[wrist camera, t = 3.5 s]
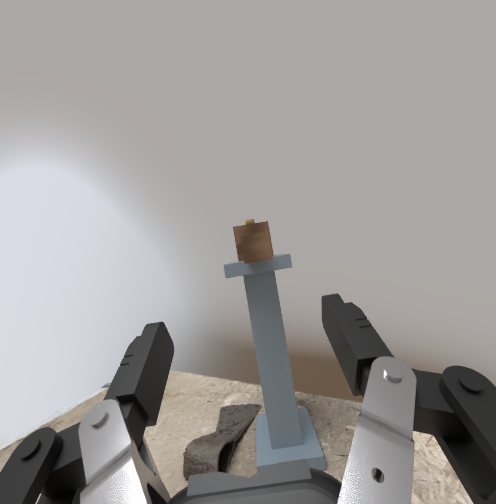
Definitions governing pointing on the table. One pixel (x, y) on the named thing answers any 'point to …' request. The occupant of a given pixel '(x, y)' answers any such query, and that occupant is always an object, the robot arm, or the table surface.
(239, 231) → the marking gauge
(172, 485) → the table surface
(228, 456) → the axe head
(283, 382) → the stand
